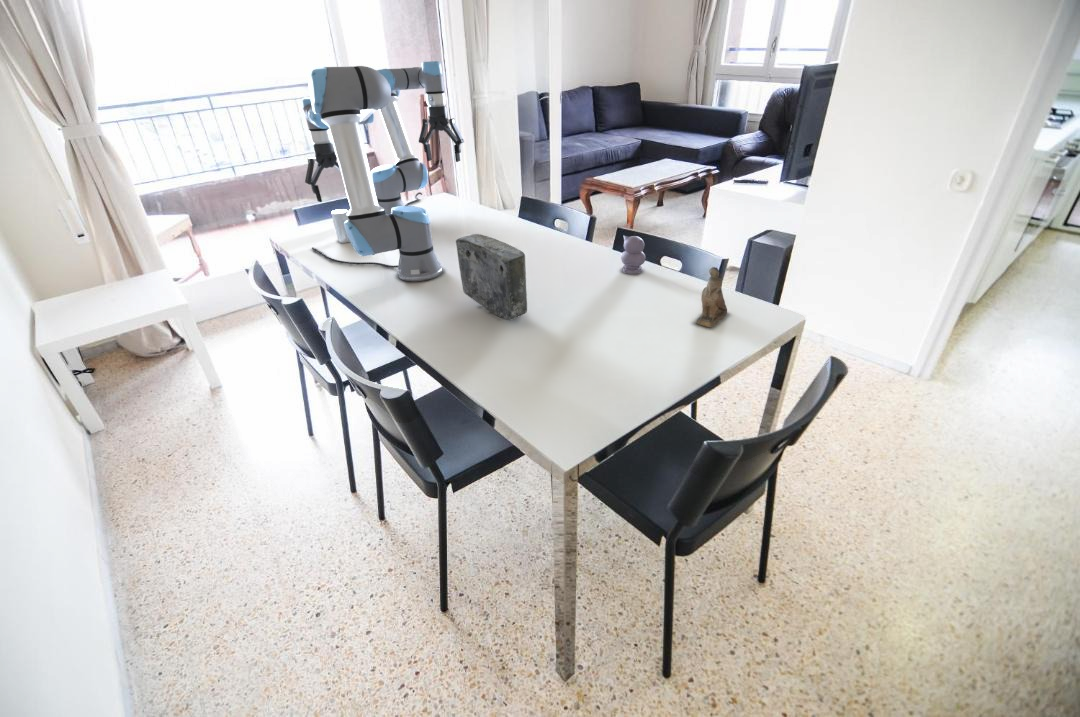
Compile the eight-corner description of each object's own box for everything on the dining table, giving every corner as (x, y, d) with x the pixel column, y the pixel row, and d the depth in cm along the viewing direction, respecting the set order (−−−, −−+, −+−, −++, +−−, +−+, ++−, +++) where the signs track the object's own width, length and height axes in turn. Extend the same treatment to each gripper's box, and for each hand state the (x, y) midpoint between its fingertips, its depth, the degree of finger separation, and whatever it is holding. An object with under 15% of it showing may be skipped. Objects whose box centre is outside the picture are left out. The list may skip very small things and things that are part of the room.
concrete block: (534, 321, 142) (531, 253, 131) (508, 330, 137) (503, 261, 127) (486, 291, 160) (480, 231, 150) (462, 299, 156) (454, 237, 145)
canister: (344, 243, 208) (336, 214, 202) (335, 241, 212) (328, 212, 205) (356, 239, 213) (350, 210, 206) (348, 237, 216) (341, 208, 210)
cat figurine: (649, 270, 171) (652, 236, 165) (636, 276, 167) (638, 242, 160) (628, 264, 176) (630, 231, 170) (615, 271, 172) (617, 237, 165)
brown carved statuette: (709, 335, 136) (713, 280, 124) (691, 329, 139) (693, 274, 128) (730, 313, 142) (736, 258, 130) (712, 307, 145) (716, 253, 133)
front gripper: (348, 137, 202) (359, 190, 213) (286, 145, 187) (302, 202, 198) (356, 138, 197) (368, 193, 208) (293, 147, 182) (309, 205, 193)
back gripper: (405, 106, 202) (413, 161, 213) (460, 106, 195) (466, 163, 206) (414, 104, 208) (422, 158, 219) (468, 104, 201) (473, 160, 212)
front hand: (336, 198), depth 203 cm, fingers open, 13 cm apart
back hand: (443, 161), depth 212 cm, fingers open, 13 cm apart
